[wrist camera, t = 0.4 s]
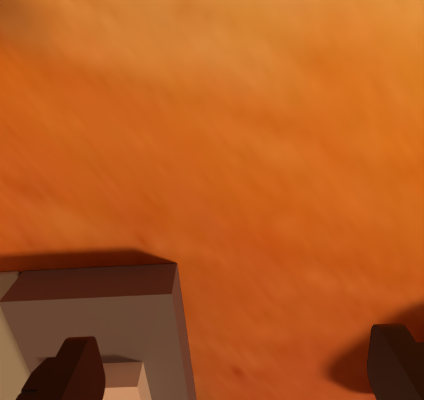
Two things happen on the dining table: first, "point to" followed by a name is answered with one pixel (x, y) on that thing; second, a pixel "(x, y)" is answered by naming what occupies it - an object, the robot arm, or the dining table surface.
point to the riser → (107, 319)
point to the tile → (126, 381)
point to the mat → (10, 350)
